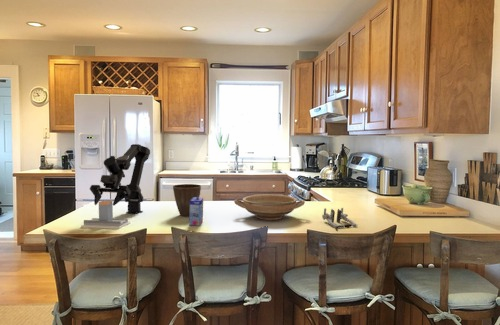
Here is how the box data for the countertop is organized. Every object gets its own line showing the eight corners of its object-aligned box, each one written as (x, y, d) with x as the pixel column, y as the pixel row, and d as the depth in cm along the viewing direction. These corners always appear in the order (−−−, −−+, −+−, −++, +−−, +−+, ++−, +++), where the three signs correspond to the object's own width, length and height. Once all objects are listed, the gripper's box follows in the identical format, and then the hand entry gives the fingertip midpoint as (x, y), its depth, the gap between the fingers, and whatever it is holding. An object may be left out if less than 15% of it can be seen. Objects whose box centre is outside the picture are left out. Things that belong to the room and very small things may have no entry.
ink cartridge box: (200, 226, 173) (200, 195, 172) (189, 226, 173) (188, 195, 172) (203, 221, 183) (203, 192, 182) (192, 221, 183) (192, 192, 182)
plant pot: (206, 215, 198) (206, 185, 197) (184, 219, 187) (184, 188, 186) (189, 211, 208) (189, 183, 207) (167, 215, 197) (167, 185, 196)
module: (104, 219, 176) (103, 200, 176) (112, 220, 176) (112, 200, 175) (99, 222, 172) (98, 202, 171) (108, 222, 171) (107, 202, 171)
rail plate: (94, 222, 181) (93, 216, 181) (130, 223, 178) (130, 217, 178) (80, 227, 170) (80, 221, 170) (119, 228, 167) (119, 222, 167)
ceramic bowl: (231, 223, 180) (231, 202, 179) (237, 211, 208) (237, 193, 207) (306, 224, 177) (307, 203, 177) (302, 212, 206) (302, 194, 205)
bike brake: (318, 219, 184) (336, 236, 165) (320, 207, 182) (338, 222, 163) (343, 218, 187) (363, 234, 168) (344, 206, 186) (365, 220, 167)
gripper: (91, 168, 177) (78, 194, 167) (127, 168, 175) (116, 195, 165) (100, 182, 186) (88, 208, 176) (135, 183, 183) (125, 209, 173)
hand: (104, 204), depth 172 cm, fingers open, 9 cm apart
